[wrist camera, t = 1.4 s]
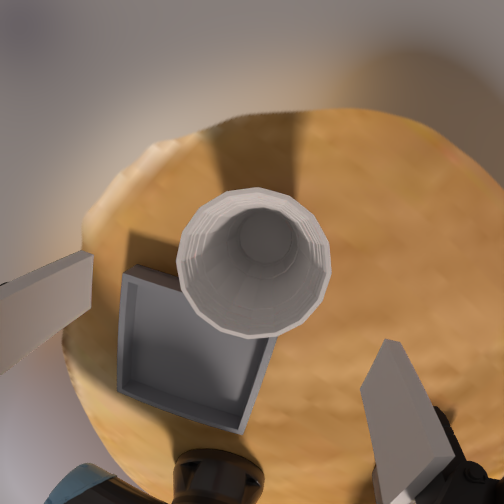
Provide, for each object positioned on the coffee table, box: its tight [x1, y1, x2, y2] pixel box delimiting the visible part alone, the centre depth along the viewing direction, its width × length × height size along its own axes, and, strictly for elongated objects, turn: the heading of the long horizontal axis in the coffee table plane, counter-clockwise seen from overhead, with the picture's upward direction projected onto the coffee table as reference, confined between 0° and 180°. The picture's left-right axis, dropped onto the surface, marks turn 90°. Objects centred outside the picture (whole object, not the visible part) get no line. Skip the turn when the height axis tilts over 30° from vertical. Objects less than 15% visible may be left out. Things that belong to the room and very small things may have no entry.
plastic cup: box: [176, 187, 332, 339], centre depth 27 cm, size 11×11×12 cm
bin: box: [117, 264, 278, 435], centre depth 36 cm, size 18×18×4 cm
